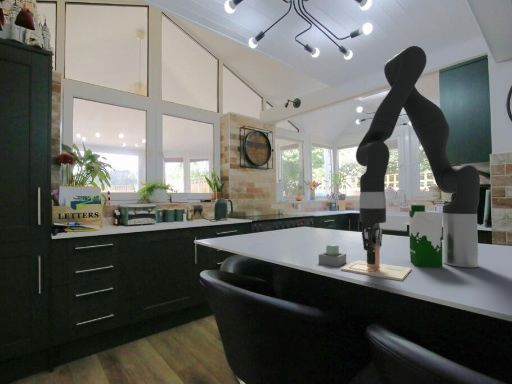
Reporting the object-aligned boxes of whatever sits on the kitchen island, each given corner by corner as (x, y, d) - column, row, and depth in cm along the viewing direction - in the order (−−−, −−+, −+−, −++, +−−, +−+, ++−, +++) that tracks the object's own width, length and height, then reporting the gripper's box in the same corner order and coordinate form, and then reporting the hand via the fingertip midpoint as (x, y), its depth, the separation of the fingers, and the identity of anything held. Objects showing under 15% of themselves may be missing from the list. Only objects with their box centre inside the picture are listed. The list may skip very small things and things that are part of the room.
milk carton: (406, 260, 95) (405, 204, 95) (435, 262, 93) (433, 205, 94) (416, 267, 86) (415, 205, 87) (447, 268, 85) (446, 205, 85)
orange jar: (368, 265, 84) (368, 239, 85) (381, 266, 82) (380, 240, 82) (365, 267, 82) (364, 240, 82) (378, 269, 79) (377, 241, 79)
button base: (327, 259, 97) (327, 251, 97) (346, 262, 93) (346, 253, 93) (318, 263, 92) (318, 254, 92) (338, 266, 88) (338, 257, 88)
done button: (329, 255, 95) (329, 244, 96) (340, 256, 93) (340, 245, 93) (324, 257, 92) (324, 245, 92) (335, 259, 90) (335, 247, 90)
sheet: (356, 261, 94) (356, 260, 94) (411, 270, 83) (411, 267, 83) (341, 270, 83) (341, 268, 83) (402, 280, 72) (402, 278, 72)
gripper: (379, 207, 74) (380, 269, 74) (391, 206, 85) (391, 260, 85) (352, 207, 79) (352, 265, 79) (366, 206, 90) (367, 257, 90)
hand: (373, 262), depth 82 cm, fingers closed on orange jar, 3 cm apart
